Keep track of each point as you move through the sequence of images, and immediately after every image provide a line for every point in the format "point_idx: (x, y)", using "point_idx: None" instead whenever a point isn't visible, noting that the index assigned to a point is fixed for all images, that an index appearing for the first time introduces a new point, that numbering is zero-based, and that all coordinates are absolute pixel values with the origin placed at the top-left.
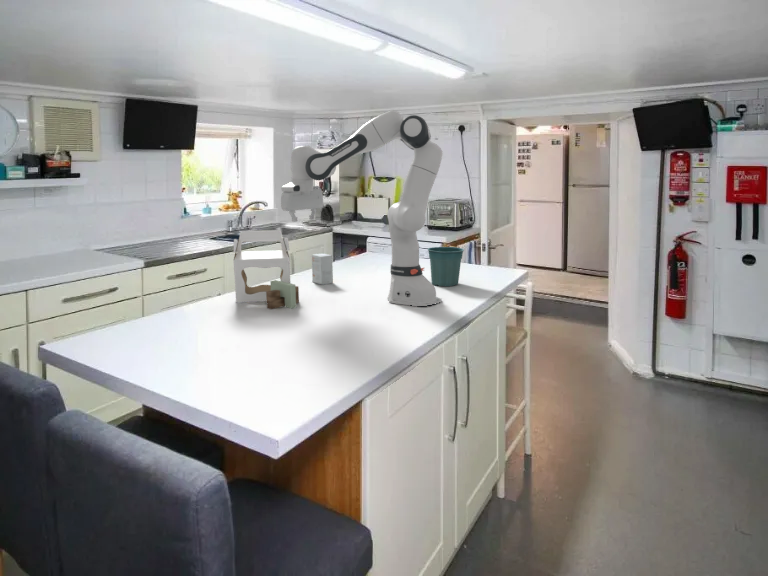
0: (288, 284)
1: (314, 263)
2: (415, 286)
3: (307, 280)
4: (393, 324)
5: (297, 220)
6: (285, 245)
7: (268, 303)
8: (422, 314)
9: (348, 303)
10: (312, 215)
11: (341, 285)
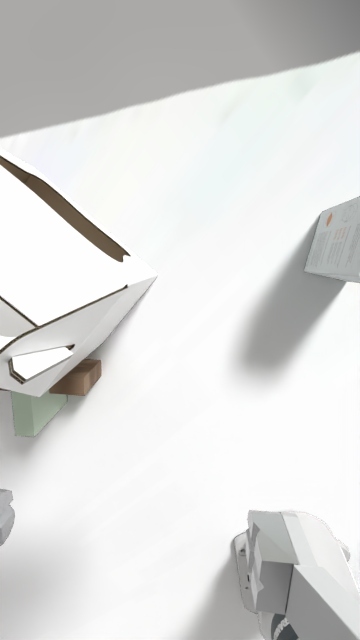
0: (19, 422)
1: (355, 218)
2: (266, 638)
3: (334, 173)
4: (110, 613)
5: (8, 535)
6: (9, 389)
7: None
8: (198, 622)
9: (173, 471)
10: (274, 605)
11: (331, 328)
